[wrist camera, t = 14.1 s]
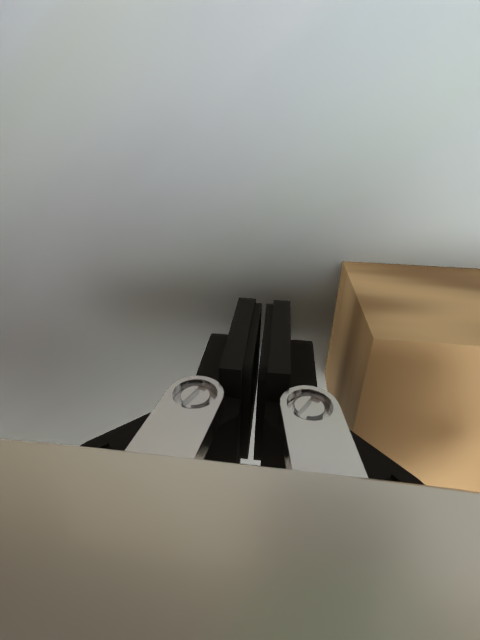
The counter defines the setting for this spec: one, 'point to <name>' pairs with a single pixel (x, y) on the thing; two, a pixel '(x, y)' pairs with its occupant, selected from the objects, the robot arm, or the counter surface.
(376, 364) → the oak bar
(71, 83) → the counter surface
